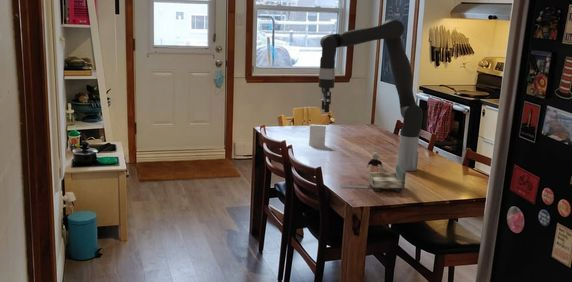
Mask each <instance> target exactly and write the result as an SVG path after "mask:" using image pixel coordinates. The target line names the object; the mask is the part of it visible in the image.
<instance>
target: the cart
mask: <svg viewBox="0 0 572 282" xmlns="http://www.w3.org/2000/svg"><path fill="white" fill-rule="evenodd" d="M406 174H407V171H404V170H403V169H402V168H401V167H400V165H397V164H396V165H395V172H379V171H378V172H370V171H368V172H367V177H366V179H367V181H368V183H369V184H370V186H372V187H374V189H373V190H374V191H375V192H376V193H379V192H381V191H382V190H383V189H382V187H383V188H394V189H393V190H394V191H395V193H401V192H402V190H403V189H405V184H406V176H407V175H406Z"/></svg>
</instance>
